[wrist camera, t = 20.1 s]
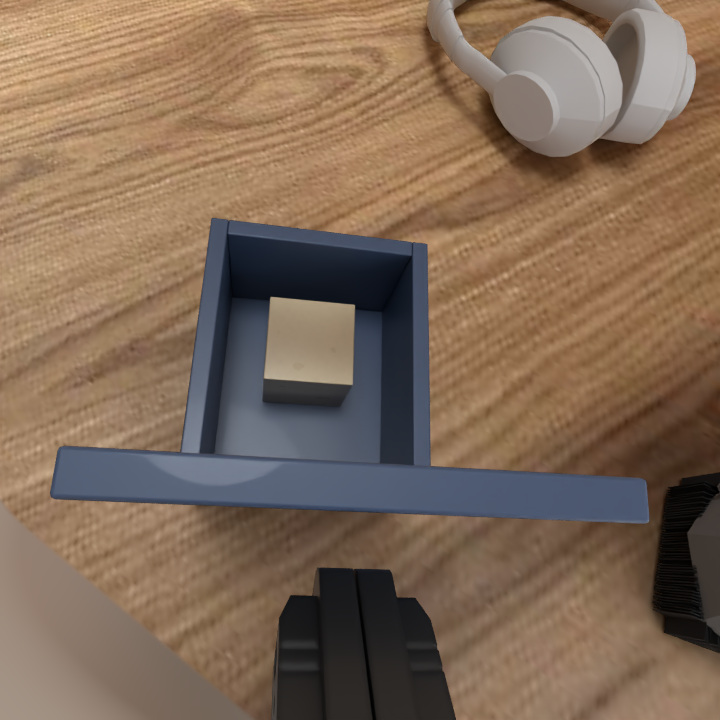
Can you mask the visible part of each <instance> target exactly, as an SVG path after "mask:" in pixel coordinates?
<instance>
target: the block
mask: <svg viewBox="0 0 720 720" xmlns="http://www.w3.org/2000/svg"><path fill="white" fill-rule="evenodd" d="M354 330H355V305H351V304H340V303H330V302H320V301H309V300H299V299H289V298H278V297H270V305H269V317H268V329H267V341H266V353H265V365H264V377H263V394H262V401H264V402H279V403H294V404H309V405H323V406H338V407H340V406H341V404H342V402H343V401H344V399H345V397H346V396H347V394H348V392H349V391H350V389H351V387H352V385H353V365H354Z"/></svg>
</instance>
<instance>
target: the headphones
mask: <svg viewBox="0 0 720 720" xmlns="http://www.w3.org/2000/svg"><path fill="white" fill-rule="evenodd" d="M466 1H468V0H429V4H428V10H427V25H428V29H429V31H430V34H431V36H432V38H433V40H434V41H435V42H438V43H440V44H441V45H442V47H443V49H444V51H445V53H446V54H447V56H448V57H449V58H450V60H451V61H453V62H454V63H455V65H456V66H457V67H458V68H459V69H460V70H461V71H462V72H464V73H465V74H466V75H468V76H469V77H470V78H471V79H473V80H474V81H475V82H476V83H477V84H479V85H480V86H481V87H482V88H483V89H484V90H486V91H487V92H488V94H489V97H490V100H491V103H492V105H493V108H494V111H495V113H496V115H497V116H498V118H499V120H500V121H501V123H502V124H503V126H504V128H505V129H506V130H507V131H508V132H509V133H510V134H511V135H512V136H513V137H514V138H515V139H516V140H517V141H518V142H519V143H521V144H522V145H524V146H526V147H527V148H529V149H530V150H532V151H534V152H536V153H540V154H543V155H546V156H550V157H565V156H569V155H572V154H574V153H576V152H579V151H581V150H583V149H584V148H586V147H587V146H589V145H590V144H591V143H593V142H594V141H596V140H597V139H598V138H601V139H607V140H613V141H619V142H625V143H634V144H642V143H644V142H646V141H648V140H650V139H651V138H652V137H653V136H654V135H655V134H656V133H657V132H658V131H659V130H660V129H661V128H662V126H663V125H664V123H665V122H666V120H672V119H674V118H675V117H677V116H678V115H679V114H680V113H681V112H682V111H683V109H684V107H685V106H686V104H687V103H688V100H689V98H690V96H691V93H692V90H693V87H694V83H695V74H696V68H695V62H694V60H693V58H692V56H690V55H688V54H687V44H686V37H685V31H684V30H683V28H682V26H681V24H680V22H679V21H676V20H674V19H672V17H671V16H669V15H666V14H665V13H664V12H663V10H662V9H661V7H660V6H659V5H658V4H657V3H656V1H655V0H561V1H565V2H567V3H569V4H571V5H573V6H575V7H577V8H580V9H582V10H584V11H586V12H589V13H591V14H593V15H596V16H598V17H600V18H603V19H605V20H608V21H611V22H613V23H612V25H611V26H610V28H609V29H608V31H607V33H606V34H605V36H604V38H603V40H601V39H600V38H599V37H598V36H597V35H596V34H595V33H594V32H593V31H591V30H590V29H589V28H587V27H585V26H583V25H581V24H579V23H577V22H575V21H573V20H571V19H568V18H561V17H554V16H546V17H542V18H538V19H534V20H531V21H529V22H527V23H525V24H523V25H521V26H519V27H517V28H515V29H514V30H512V31H511V32H510V33H508V34H507V35H506V36H504V37H503V38H502V39H500V41H499V43H498V44H497V46H496V48H495V50H494V51H493V53H492V56H491V59H490V60H489V59H488V58H486V57H485V56H484V55H483V54H481V53H480V52H479V51H478V50H476V49H475V48H473V47H472V46H471V45H470V44H469V43H468V42H467V41H466V40H465V39H464V36H463V34H462V32H461V30H460V29H459V26H458V23H457V21H456V18H455V16H454V9H455V8H457V7H458V6H460V5H461V4H463V3H464V2H466Z"/></svg>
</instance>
